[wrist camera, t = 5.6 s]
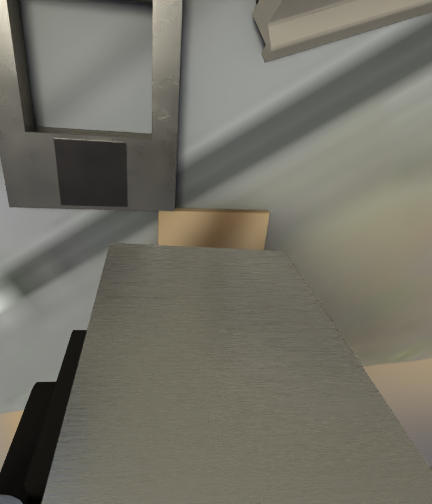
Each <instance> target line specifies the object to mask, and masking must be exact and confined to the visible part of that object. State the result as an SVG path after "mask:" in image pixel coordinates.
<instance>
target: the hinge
mask: <svg viewBox="0 0 432 504" xmlns="http://www.w3.org/2000/svg"><path fill="white" fill-rule="evenodd" d="M256 4H257V6H256V7H255V9H254V11H253V13H252V15H253V17H254V19H255V22H256V24H257V26H258V28H259V30H260V33H261V35H262V37H263V39H264V42H265V44H266V45H265V48H264V50H263V52H262V57H263V60H264V62H268V61H271V60H274V59H278V58H281V57H284V56H287V55H291V54H294V53H297V52H301V51H304V50H307V49H310V48H314V47H317V46H320V45H324V44H327V43H330V42H334V41H337V40H340V39H343V38H347V37H350V36H353V35H357V34H360V33H363V32H366V31H370V30H373V29H376V28H380V27H383V26H386V25H389V24H393V23H396V22H399V21H403V20H406V19H409V18H413V17H416V16H419V15H422V14H426V13H429V12H432V0H257V1H256Z"/></svg>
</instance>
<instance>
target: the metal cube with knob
mask: <svg viewBox="0 0 432 504" xmlns="http://www.w3.org/2000/svg"><path fill="white" fill-rule="evenodd" d="M42 504H432V470H431V468H430V467H429V465H428V464H427V462H426V461H425V459H424V458H423V457H422V455H421V453H420V452H419V451H418V449H417V448H416V446H415V445H414V443H413V442H412V440H411V439H410V437H409V436H408V434H407V433H406V431H405V430H404V428H403V427H402V425H401V424H400V422H399V421H398V419H397V418H396V416H395V415H394V413H393V412H392V410H391V409H390V408H389V406H388V404H387V403H386V401H385V400H384V398H383V397H382V395H381V394H380V392H379V391H378V389H377V388H376V387H375V385H374V384H373V382H372V381H371V379H370V378H369V376H368V375H367V373H366V372H365V370H364V369H363V367H362V366H361V364H360V363H359V361H358V360H357V358H356V357H355V355H354V354H353V352H352V351H351V349H350V348H349V346H348V345H347V343H346V342H345V340H344V339H343V337H342V336H341V334H340V333H339V331H338V330H337V329H336V327H335V326H334V324H333V323H332V321H331V320H330V318H329V317H328V315H327V314H326V312H325V311H324V309H323V308H322V306H321V305H320V303H319V302H318V300H317V299H316V297H315V296H314V294H313V293H312V291H311V290H310V288H309V287H308V285H307V284H306V282H305V281H304V279H303V278H302V276H301V275H300V273H299V272H298V271H297V269H296V268H295V266H294V265H293V263H292V262H291V260H290V259H289V257H288V256H287V254H286V253H285V251H273V250H251V249H230V248H209V247H187V246H166V245H145V244H124V243H110V245H109V249H108V253H107V257H106V261H105V264H104V268H103V272H102V276H101V280H100V283H99V287H98V291H97V295H96V299H95V302H94V306H93V310H92V314H91V318H90V321H89V325H88V329H87V333H86V337H85V340H84V344H83V348H82V352H81V356H80V359H79V363H78V367H77V371H76V375H75V378H74V382H73V386H72V390H71V394H70V397H69V401H68V405H67V409H66V413H65V416H64V420H63V424H62V428H61V432H60V435H59V439H58V443H57V447H56V451H55V454H54V458H53V462H52V466H51V470H50V473H49V477H48V481H47V485H46V488H45V492H44V496H43V500H42Z"/></svg>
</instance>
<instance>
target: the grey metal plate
mask: <svg viewBox="0 0 432 504" xmlns="http://www.w3.org/2000/svg"><path fill="white" fill-rule="evenodd" d="M128 1H136V2H144V3H152V4H153V46H152V134H148V133H132V132H115V131H99V130H83V129H67V128H51V127H35V122H34V114H33V106H32V99H31V91H30V83H29V75H28V68H27V60H26V52H25V45H24V37H23V29H22V22H21V14H20V6H19V0H0V156H1V162H2V168H3V173H4V179H5V185H6V190H7V196H8V202H9V207H23V208H62V209H101V210H140V211H175V189H176V161H177V134H178V107H179V79H180V52H181V25H182V0H128Z"/></svg>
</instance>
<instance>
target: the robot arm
mask: <svg viewBox="0 0 432 504" xmlns="http://www.w3.org/2000/svg"><path fill="white" fill-rule="evenodd" d="M86 333H87V330H73V332H72V334H71V337H70V340H69V343H68V347H67V350H66V353H65V356H64V359H63V362H62V366H61V369H60V372H59V375H58V378H57V381H56V382H37V383H36V384H35V385H34V387H33V389H32V391H31V394H30V396H29V399H28V401H27V404H26V407H25V409H24V412H23V415H22V417H21V420H20V423H19V425H18V428H17V430H16V433H15V435H14V438H13V441H12V443H11V446H10V448H9V451H8V454H7V456H6V459H5V461H4V464H3V467H2V470H1V472H0V504H42V500H43V496H44V492H45V488H46V485H47V481H48V477H49V473H50V470H51V466H52V462H53V458H54V454H55V451H56V447H57V443H58V439H59V435H60V432H61V428H62V424H63V420H64V416H65V413H66V409H67V405H68V401H69V397H70V394H71V390H72V386H73V382H74V378H75V375H76V371H77V367H78V363H79V359H80V356H81V352H82V348H83V344H84V340H85V337H86ZM429 467H430V466H429ZM430 468H431V470H432V467H430Z"/></svg>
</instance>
